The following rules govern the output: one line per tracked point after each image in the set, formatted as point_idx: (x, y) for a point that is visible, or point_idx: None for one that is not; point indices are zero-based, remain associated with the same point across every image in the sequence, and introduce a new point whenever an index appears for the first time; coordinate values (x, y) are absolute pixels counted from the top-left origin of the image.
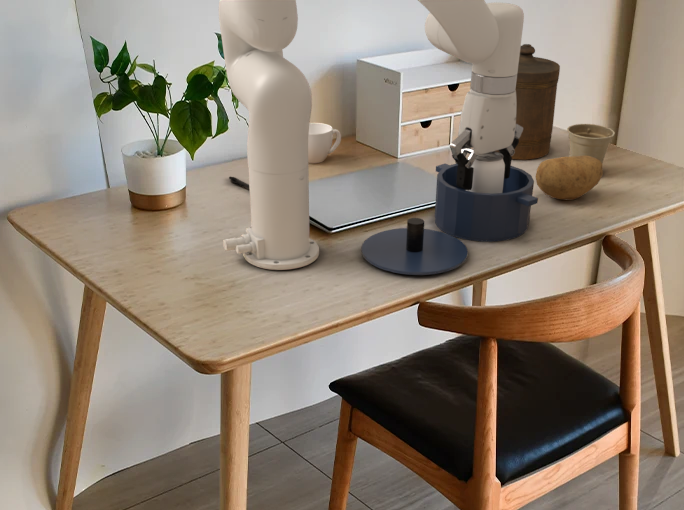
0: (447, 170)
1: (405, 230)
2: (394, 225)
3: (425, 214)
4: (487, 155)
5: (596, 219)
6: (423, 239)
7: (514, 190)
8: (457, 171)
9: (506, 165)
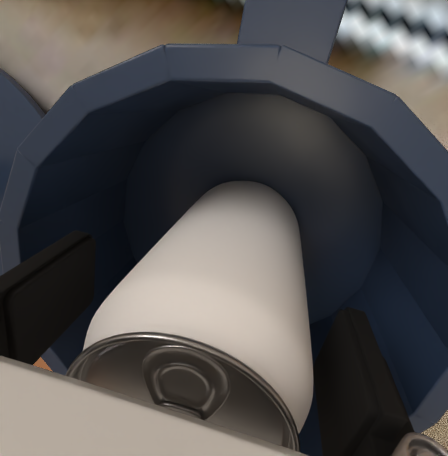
0: (192, 82)
1: (3, 99)
2: (46, 10)
3: (189, 38)
4: (210, 416)
5: (442, 445)
6: (7, 178)
7: (385, 325)
8: (25, 261)
9: (321, 423)
